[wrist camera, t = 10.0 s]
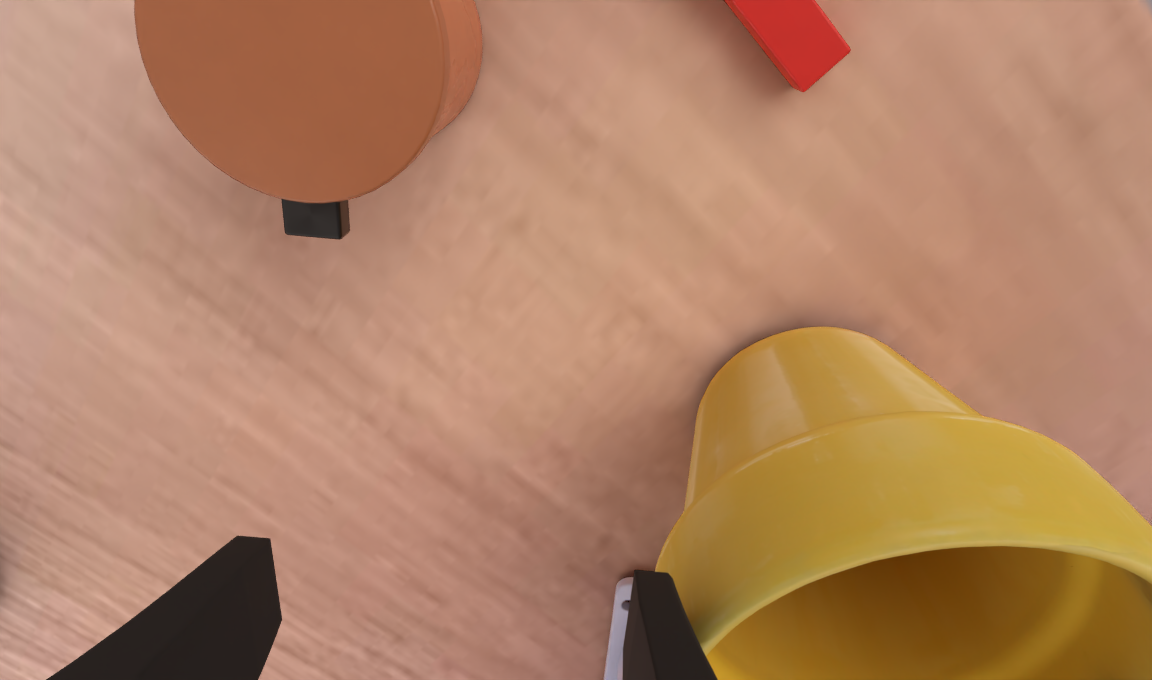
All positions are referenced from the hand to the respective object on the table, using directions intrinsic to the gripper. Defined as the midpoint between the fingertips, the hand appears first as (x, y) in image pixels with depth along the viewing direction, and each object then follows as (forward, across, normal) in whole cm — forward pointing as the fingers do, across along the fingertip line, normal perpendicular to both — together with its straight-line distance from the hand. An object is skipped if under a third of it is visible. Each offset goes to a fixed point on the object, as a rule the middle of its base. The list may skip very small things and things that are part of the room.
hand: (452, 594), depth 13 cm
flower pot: (+9, -9, +1) cm, 13 cm away
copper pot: (+10, +4, -9) cm, 13 cm away
